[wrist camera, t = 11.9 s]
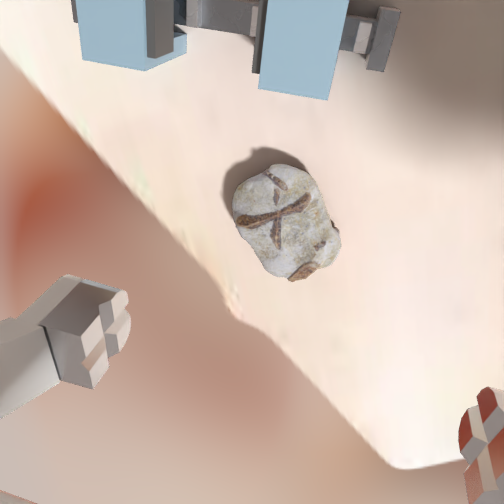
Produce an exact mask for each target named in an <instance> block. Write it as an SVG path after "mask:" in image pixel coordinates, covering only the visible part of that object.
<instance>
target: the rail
mask: <svg viewBox="0 0 504 504" xmlns="http://www.w3.org/2000/svg"><path fill="white" fill-rule="evenodd" d="M71 4H72V12H73V19H74V22H75V23H78V17H77V9H76V0H71ZM258 6H259V1H252V0H174V24H179V25H186V26H189V27H195V28H198V27H199V28H205V29H211V30H218V31H224V32H231V33H237V34H243V35H250V36H253V37H255V36H256V26H257V16H258ZM400 13H401V12H400V11H399V10H398V9H397V8H391V7H384V6H379V9H378V13H377V17H376V19H375V18H368V17H361V16H354V15H348V14H346V18H345V22H344V27H343V32H342V36H341V41H340V46H339V50H346V51H352V52H355V53H361V54H367V56H366V60H365V61H366V69H368V70H374V71H380V72H384V69H385V66H386V62H387V59H388V55H389V52H390V48H391V45H392V41H393V38H394V34H395V31H396V27H397V23H398V20H399V16H400Z"/></svg>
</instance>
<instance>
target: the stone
mask: <svg viewBox="0 0 504 504" xmlns="http://www.w3.org/2000/svg"><path fill="white" fill-rule="evenodd" d="M232 210H233V219H234V222H235V224H236V227H237V229H238V231H239V233H240V235H241V237H242V238H243V239H244V240H246V241H247V242H248V243H249V244H250V245H251V247H252V248H253V249H254V251H255V253H256V255H257V257H258V258H259V260H260V261H261V263H262V265H263V266H264V268H265V270H266V271H268V272H269V273H271V274H272V275H274V276H277V277H285V278H287V279H288V280H289V281H291V282H294V281H296V280H302V279H306V278H307V277H308V276H310V275H311V274H312V273H313V272H314V271H316V270H317V269H320V268H324V267H327V266H330V265H331V264H332V263H333V262H334V261H335V259H336V258H337V256H338V254H339V251H340V248H341V240H340V236H339V230H338V228H336V227H334V228H333V227H332V224H331V221H330V217H329V214H328V212H327V210H326V207H325V204H324V201H323V197H322V195H321V192H320V190H319V188H318V186H317V184H316V182H315V181H314V179H313V178H312V177H311V176H310V175H309V174H308V173H307V172H305V171H303V170H300V169H298V168H295V167H292V166H290V165H286V164H273V165H271V166H270V167H269V169H267V170H265V171H264V172H263V173H260V174H258V175H256V176H254V177H251V178H249V179H247V180H246V181H244V182H243V183H242V184H240V185H239V186H238V187H237V189H236V191H235V193H234V196H233V200H232Z"/></svg>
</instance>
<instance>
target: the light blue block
mask: <svg viewBox="0 0 504 504" xmlns="http://www.w3.org/2000/svg"><path fill="white" fill-rule="evenodd" d="M76 9H77V17H78V25H79V34H80V42H81V51H82V59H83V60H86V61H92V62H97V63H103V64H108V65H114V66H119V67H124V68H130V69H135V70H141V71H147V70H149V69H151V68H153V67H156V66H158V65H160V64H163V63H165V62H167V61H169V60H172V59H174V58H176V57H178V56H181V55H183V54H185V53H186V44H187V34H184V33H178V32H174V0H76Z"/></svg>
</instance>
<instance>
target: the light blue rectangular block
mask: <svg viewBox="0 0 504 504" xmlns="http://www.w3.org/2000/svg"><path fill="white" fill-rule="evenodd" d="M348 4H349V0H259V6H258V16H257V26H256V36H255V45H254V55H253V65H252V73H257V74H260V76H259V85H258V89H263V90H269V91H275V92H281V93H286V94H292V95H298V96H304V97H310V98H316V99H322V100H328V96H329V92H330V88H331V83H332V79H333V75H334V70H335V66H336V61H337V55H338V50H339V46H340V41H341V36H342V32H343V27H344V22H345V18H346V13H347V8H348Z"/></svg>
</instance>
